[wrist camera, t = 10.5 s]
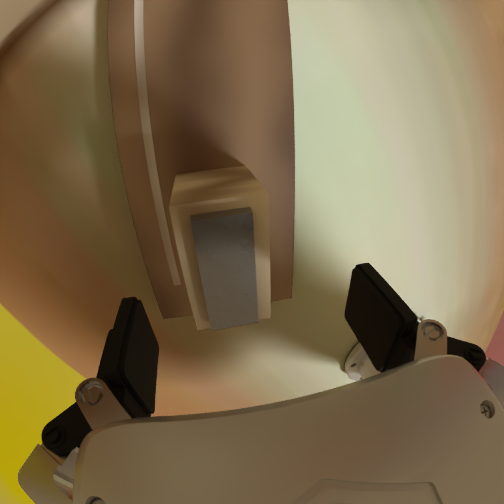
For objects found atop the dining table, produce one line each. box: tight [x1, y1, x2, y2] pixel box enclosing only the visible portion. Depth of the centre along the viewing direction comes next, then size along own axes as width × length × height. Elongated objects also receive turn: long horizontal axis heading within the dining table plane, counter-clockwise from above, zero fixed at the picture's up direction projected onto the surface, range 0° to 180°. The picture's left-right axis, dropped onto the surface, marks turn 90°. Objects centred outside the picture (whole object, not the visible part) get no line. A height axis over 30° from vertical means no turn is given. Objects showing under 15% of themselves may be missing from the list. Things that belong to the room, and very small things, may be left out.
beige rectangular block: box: [169, 166, 271, 330], centre depth 14 cm, size 4×7×6 cm, turn 3°
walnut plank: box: [108, 0, 295, 319], centre depth 13 cm, size 10×30×3 cm, turn 3°
